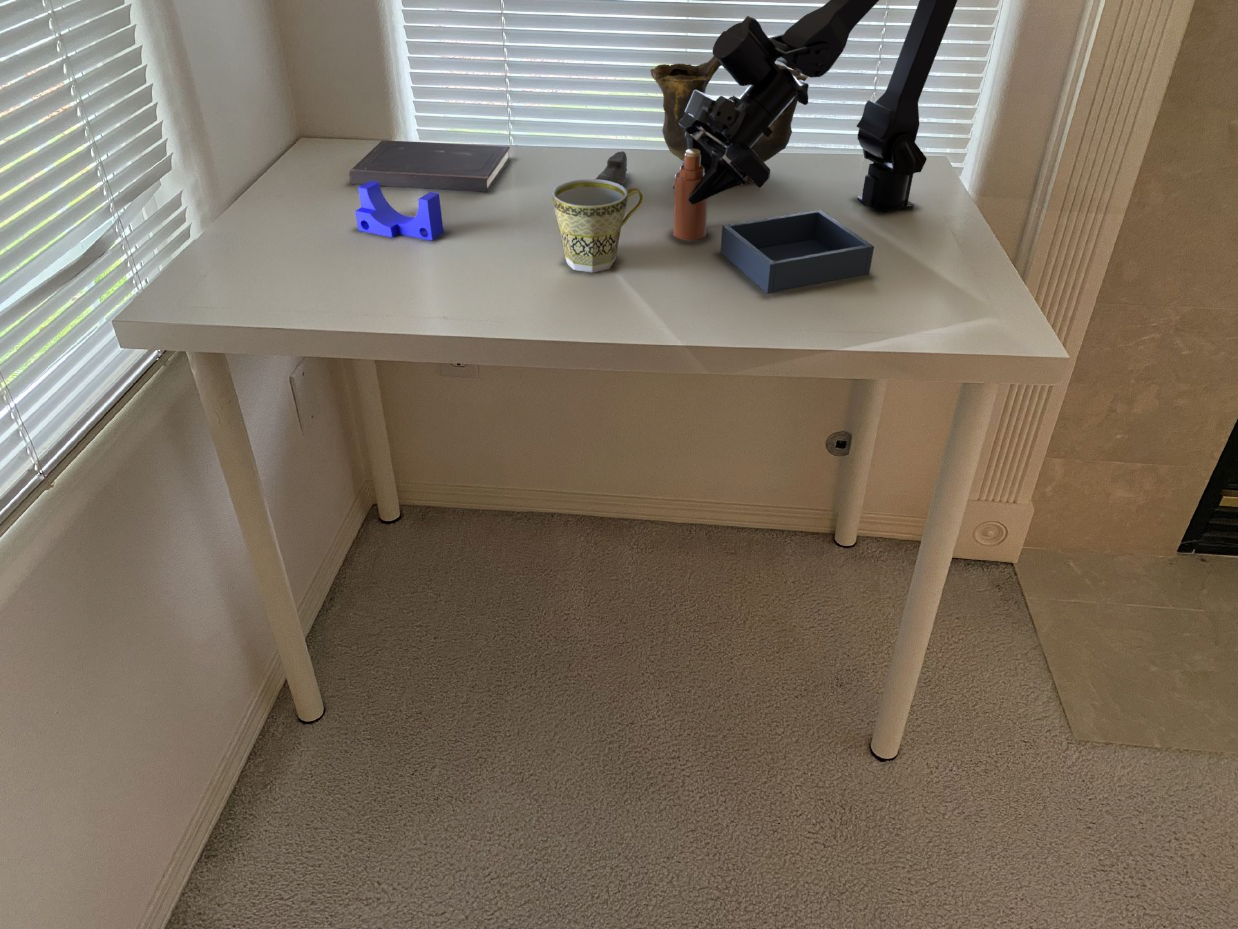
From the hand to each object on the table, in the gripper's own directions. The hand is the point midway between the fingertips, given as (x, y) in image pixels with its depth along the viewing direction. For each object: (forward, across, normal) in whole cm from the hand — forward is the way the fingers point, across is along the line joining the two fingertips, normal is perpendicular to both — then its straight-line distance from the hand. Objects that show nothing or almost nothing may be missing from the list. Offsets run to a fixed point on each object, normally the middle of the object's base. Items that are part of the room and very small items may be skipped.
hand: (682, 195), depth 133 cm
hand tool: (+8, -20, +2) cm, 21 cm away
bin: (-3, +14, +12) cm, 19 cm away
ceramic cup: (+14, +3, -5) cm, 15 cm away
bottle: (+3, 0, +5) cm, 6 cm away
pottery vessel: (-8, -21, +17) cm, 28 cm away
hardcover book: (+24, -40, -15) cm, 49 cm away
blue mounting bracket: (+31, -17, -22) cm, 42 cm away
